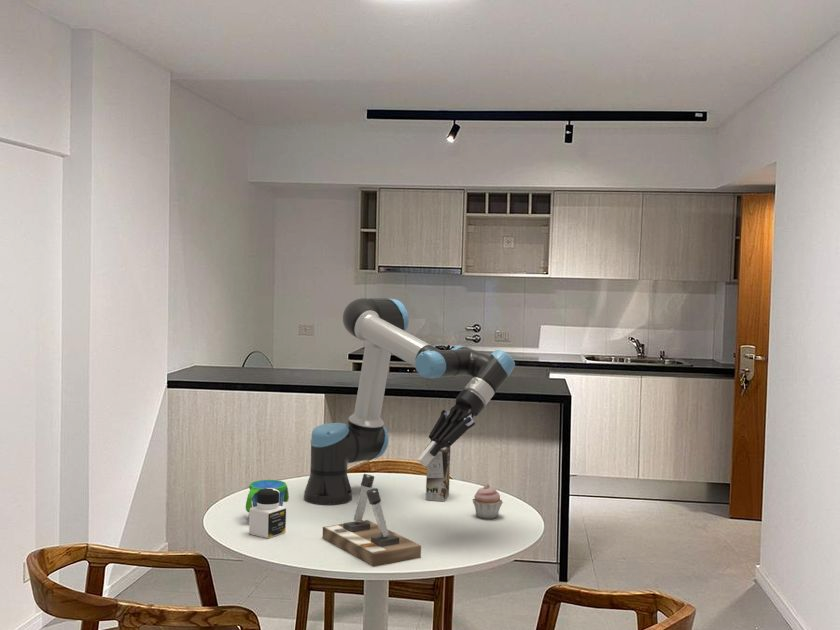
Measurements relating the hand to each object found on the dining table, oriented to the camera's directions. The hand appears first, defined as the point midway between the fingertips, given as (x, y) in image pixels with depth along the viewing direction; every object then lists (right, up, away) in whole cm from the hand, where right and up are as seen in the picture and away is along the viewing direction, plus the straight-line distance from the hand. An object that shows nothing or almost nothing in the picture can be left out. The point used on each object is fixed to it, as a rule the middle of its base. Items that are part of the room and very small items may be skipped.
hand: (421, 463), depth 225 cm
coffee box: (+5, -20, +50) cm, 55 cm away
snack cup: (-44, -20, +20) cm, 53 cm away
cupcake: (+20, -21, +30) cm, 42 cm away
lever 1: (-17, -17, +3) cm, 24 cm away
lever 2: (-9, -17, -9) cm, 22 cm away
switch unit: (-13, -21, -3) cm, 26 cm away
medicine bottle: (-42, -20, +6) cm, 47 cm away
